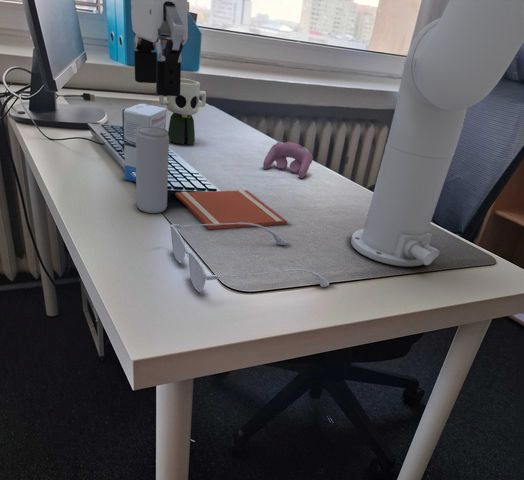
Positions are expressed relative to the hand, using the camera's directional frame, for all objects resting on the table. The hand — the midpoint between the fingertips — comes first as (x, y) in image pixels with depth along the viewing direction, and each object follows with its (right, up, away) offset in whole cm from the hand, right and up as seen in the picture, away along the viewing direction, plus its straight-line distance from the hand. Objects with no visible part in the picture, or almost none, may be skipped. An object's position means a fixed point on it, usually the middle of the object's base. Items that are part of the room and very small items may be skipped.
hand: (156, 88), depth 72 cm
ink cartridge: (-13, +4, +35) cm, 37 cm away
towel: (+9, -13, +15) cm, 22 cm away
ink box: (-7, -5, +23) cm, 24 cm away
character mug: (-4, +11, +47) cm, 48 cm away
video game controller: (+20, +2, +39) cm, 44 cm away
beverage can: (-3, -15, +10) cm, 18 cm away
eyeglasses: (+13, -26, -3) cm, 29 cm away
